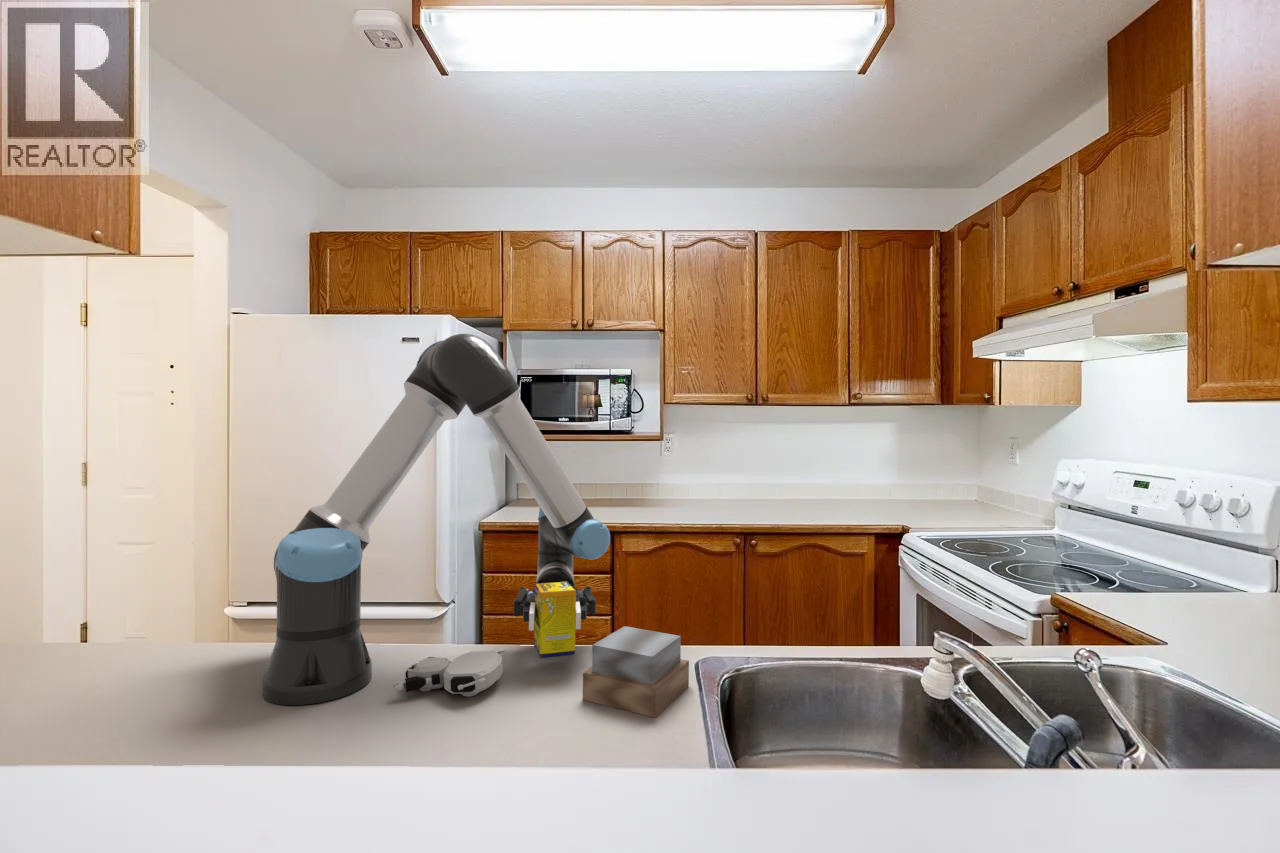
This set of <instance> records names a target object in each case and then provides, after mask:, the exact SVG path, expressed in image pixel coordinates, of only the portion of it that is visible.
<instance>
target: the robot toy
mask: <svg viewBox="0 0 1280 853" xmlns="http://www.w3.org/2000/svg"><path fill="white" fill-rule="evenodd" d="M507 651H508V649H507V648H505V649H502V650H500V651H494V650H479V651H477V650H476V651H469V652H466V653H463V654H461V655H459V656H457V657H456V658H455V659H453V660H451V661H450V660H449V659H448V657H434V656H429V657H427V658H424V659H422V660H420V661H418V662H416V663H413V664H411V666H409V667H408V668H407V669H406V671H405V675H404V676H405V679H404V681H405V682H401V681H399V682H396V683H394V684H393V689H392V690H393V691H394V692H401V691H403V690H405V693H410V692H415V691H419V690H420V692H429V691H431V690H435V689H441V688H444V689H445V690H446V691H447V692H449V693H450V694H453V695H455V694H456V695H458V694H460V695H462V696H464V697H466V698H471V697H474V696H476V695H477V694H479V693H480V692H482V691H484V690H487V689H488V688H491V686H493V685H494V683H496V682H497V681H498V679H500V678H501V676H502V674H503V659H502V658H503V657H502V655H501V654H502V653H506V652H507Z"/></svg>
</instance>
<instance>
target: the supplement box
mask: <svg viewBox="0 0 1280 853" xmlns="http://www.w3.org/2000/svg"><path fill="white" fill-rule="evenodd" d="M534 588H535V623H534V630H533V631H534V634H533V635H534V636H533V637H534V639H533V643H534V644H533V645H534V648H535V649H536V651H537V653H538V656H539V658H540V659H541V660H544V659H552V658H561V657H570V656H575V655H576V625H575V618H576V590H575V589H573V588H572V586H571V585H570V584H569V583H568V582H555V583H541V584H536V583H535V584H534Z"/></svg>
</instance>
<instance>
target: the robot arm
mask: <svg viewBox="0 0 1280 853" xmlns="http://www.w3.org/2000/svg"><path fill="white" fill-rule="evenodd" d="M403 388H404V397H403V398H402V399H401V401H400V402H399V404H397V406H396V407H395V408H394V410H393V412H392V413H391V414H390V415H389V417H388V418H387V420H386V421H385V422H384V424H383V425H382V426H381V428H380V429H379V431H378V432H377V433H376V435H375V436H374V437H373V438H372V440H371V441H370V442H369V444H368V445H367V446H366V448H365V449H364V451H363V452H362V454H361V455H359V457H358V458H357V460H356V461H355V462H354V464H353V465H352V467H351V468H350V469H349V471H348V472H347V473H346V474H345V477H344V478H343V479H342V480H341V481H340V483H339V484H338V485H337V487H336V488H335V490H334V491H333V492H332V494H331V495H330V496H329V498H328V499H327V500H326V502H325V503H323V504H321V505H317V506H312V507H310V508H309V510H308V511H307V513H305V515H304V516H303V517H302V519H301V520H300V522H299V523H298V524H297V525H296V527H295V528H294V529H293V530H291V531H289V532H288V534H287V535H284V537H283V538H282V539H281V540H280V541H279V543H278V546H277V547H276V550H275V551H274V557H273V570H274V572H275V574H274V575H275V580H276V581H275V582H276V634H275V635H276V636H275V637H276V640H275V643H274V646H273V649H272V652H271V654H270V657H269V660H268V664H267V666H266V670H265V673H264V674H263V677H262V682H261V683H262V684H261V685H262V687H261V688H262V690H261V693H262V695H261V696H262V697H263V698H264V700H265V701H267V702H269V703H273V704H278V705H286V706H292V705H293V706H301V705H312V704H317V703H318V704H319V703H323V702H328V701H332V700H337V699H340V698H343V697H345V696H348V695H351V694H353V693H355V692H357V691H359V690H361V689H363V688H365V687H366V685H367V684H369V683H370V681H371V680H372V677H373V676H372V674H373V663H372V662H373V661H372V660H371V657H370V653H369V651H368V648H367V645H366V642H365V638H364V637H363V633H362V631H361V599H362V598H361V594H362V593H361V592H362V590H361V589H362V588H361V587H362V584H361V583H362V582H361V581H362V579H361V577H362V576H361V575H362V572H361V571H362V567H361V566H362V559H363V552H364V551H365V549H366V548H367V546H368V545H369V543H370V542H371V539H370V538H371V537H370V533H369V529H370V527H371V526H372V524H373V523H374V521H375V520H376V519H377V517H378V516H379V515H380V513H381V511H382V510H383V509H384V507H385V506H386V504H387V503H388V502H389V501H390V499H391V497H392V496H393V494H394V493H396V490H397V489H398V488H399V486H400V485H401V483H402V481H404V479H405V477H406V476H407V475H408V473H409V472H410V471H411V469H412V467H413V466H414V465H415V463H416V462H417V461H418V459H419V458H420V456H421V455H422V453H423V452H424V451H425V449H426V448H427V447H428V445H429V443H430V442H431V441H432V439H433V438H434V437H435V435H436V434H437V433H438V432H439V430H440V428H441V427H442V425H443V424H444V423H445V422H446V421H449V420H455V419H457V418H458V417H459V415H460V414H461V413H462V411H463V410H464V408H465V407H466V406H467V408H468V409H469V410H470V412H471V413H472V415H473V416H475V417H479V418H482V420H483V421H484V423H485V424H486V426H487V428H488V429H489V430H490V432H491V434H492V435H493V436H494V437H493V438H495V440H496V441H497V443H498V444H499V446H500V448H501V449H502V450H503V452H504V454H505V455H506V457H507V458H508V460H509V461H510V463H511V464H512V466H513V467H514V469H515V470H516V472H517V474H518V475H519V477H520V478H521V480H522V481H523V483H524V484H525V485H526V487H527V489H528V491H529V492H530V494H531V495H532V496H533V498H534V500H535V501H536V503H537V504H538V506H539V509H538V517H537V520H538V540H537V541H538V544H537V545H538V548H537V550H538V551H537V567H536V568H537V574H536V576H537V577H536V583H535V584H541V583H555V582H568V583H569V584H570V585H571V586H572V588H573V589H575V590H576V618H575V630H581V628H582V626H581V625H582V624H581V623H582V620H587V618H588V616H587V615H590V616H595V615H597V613H596V612H597V599H596V598H595V596H594V595H593V593H592V587H590V586H586V587H584V588H581V589H580V590H578V588H577V587H576V586H575V578H574V556H576V557H577V558H579V559H586V560H596V559H599V558H600V557H602V556H603V555H604V554H605V553H606V552H607V551H608V549H609V547H610V543H611V533H610V530H609V528H608V527H607V525H606V524H604V523H603V522H602V521H600V520H598V519H597V518H594V516H593V515H592V513H591V511H590V510H589V508H588V507H587V505H586V504H585V502H584V500H583V499H582V497H581V496H580V494H579V493H578V491H577V489H576V488H575V485H574V484H573V483H572V481H571V480H570V477H569V476H568V474H567V473H566V471H565V470H564V468H563V467H562V465H561V463H560V461H559V460H558V458H557V457H556V455H555V454H554V452H553V451H552V449H551V447H550V445H549V444H548V442H547V440H546V438H545V437H544V436H543V435H544V434H543V433H542V432H541V431H540V429H539V427H538V425H537V424H536V422H535V421H534V419H533V418H532V416H531V414H530V412H529V411H528V409H527V408H526V406H525V405H524V403H523V402H522V400H521V398H520V396H519V395H520V389H521V387H520V385H519V384H518V382H517V381H516V379H515V378H514V375H513V373H511V371H510V370H509V368H508V367H507V365H506V363H505V361H504V360H503V359H502V357H501V356H500V354H499V353H498V352H497V350H496V349H495V348H494V347H493V345H492V344H490V343H489V342H488V341H486V340H485V339H484V338H482V337H480V336H477V335H476V334H472V333H458V334H453V335H451V336H448V337H447V338H445V339H444V340H439V341H436V342H434V343H432V344H431V345H429V346H428V347H426V349H424V350H423V352H421V354H420V355H419V358H418V360H417V362H416V366H415V367H414V369H413V370H412V372H411V373H410V374H409V376H408V377H407V378H406V380H405V381H404V383H403ZM521 615H522V620H523V622H526V623H527V622H528V631H534V628H535V587H534V588H533V589H532V590H530V589H528V588H525V587H522V586H521V587H518V594H517V595H516V597H515V599H514V600H513V616H514V617H520V616H521Z"/></svg>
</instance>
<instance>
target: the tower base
mask: <svg viewBox="0 0 1280 853" xmlns="http://www.w3.org/2000/svg"><path fill="white" fill-rule="evenodd" d="M681 639H682V638H681V635H676V634H671V633H666V632H665V633H664V632H660V631H654V630H650V629H649V630H648V629H643V628H636V627H631V626H625V625H624V626H622V627H621V628H619V629H617V630H616V631H613V632H612V633H610V634H608V635H607V636H605V637H603V638H602V639H600V640H598V641H595V643H593V644H592V650H591V652H592V654H591V656H592V657H591V662H592V663H591V664H592V666H591V667H589V668H587V669H586V670H585V671H583V672H582V700H583V701H587V702H590V703H595V704H599V705H602V706H608V707H611V708H615V709H619V710H623V711H627V712H631V713H635V714H638V715H644V716H647V717H651V718H652V717H653V718H657V717H658V716H659V715H660V714H661V713H662V712H663V711H664V710H665V709H667V707H668V706H669V705H671V703H673V702H674V701H675V700H676V699H677V698H678V697H679V696H680V695H681V694H682V693H684V691H685V690H686V689H687V688H688V687H689V686H690V685H689V684H690V683H689V682H690V681H689V679H690V677H689V676H690V661H689V660H687V659H683V658H681V657H682V655H681V650H682V649H681V645H682V644H681V642H682V640H681Z"/></svg>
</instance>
